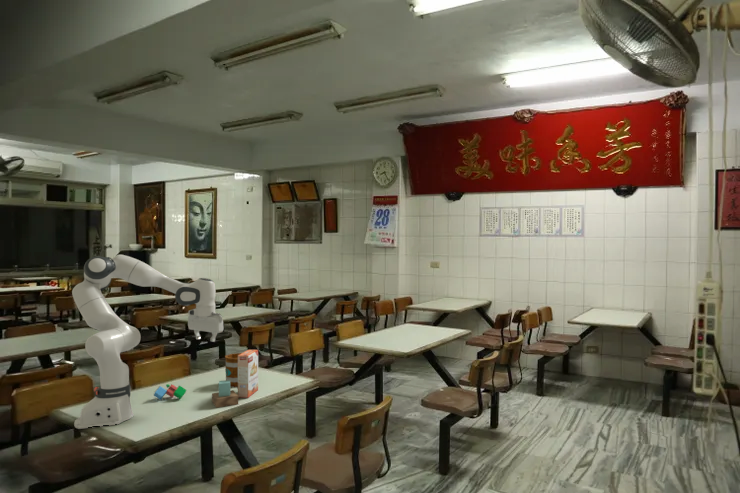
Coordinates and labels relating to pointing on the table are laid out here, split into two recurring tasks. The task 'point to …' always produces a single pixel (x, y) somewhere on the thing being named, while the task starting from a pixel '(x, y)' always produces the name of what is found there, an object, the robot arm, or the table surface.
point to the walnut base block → (224, 399)
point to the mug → (232, 369)
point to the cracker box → (247, 373)
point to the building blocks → (170, 391)
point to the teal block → (224, 388)
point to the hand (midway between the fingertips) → (205, 340)
